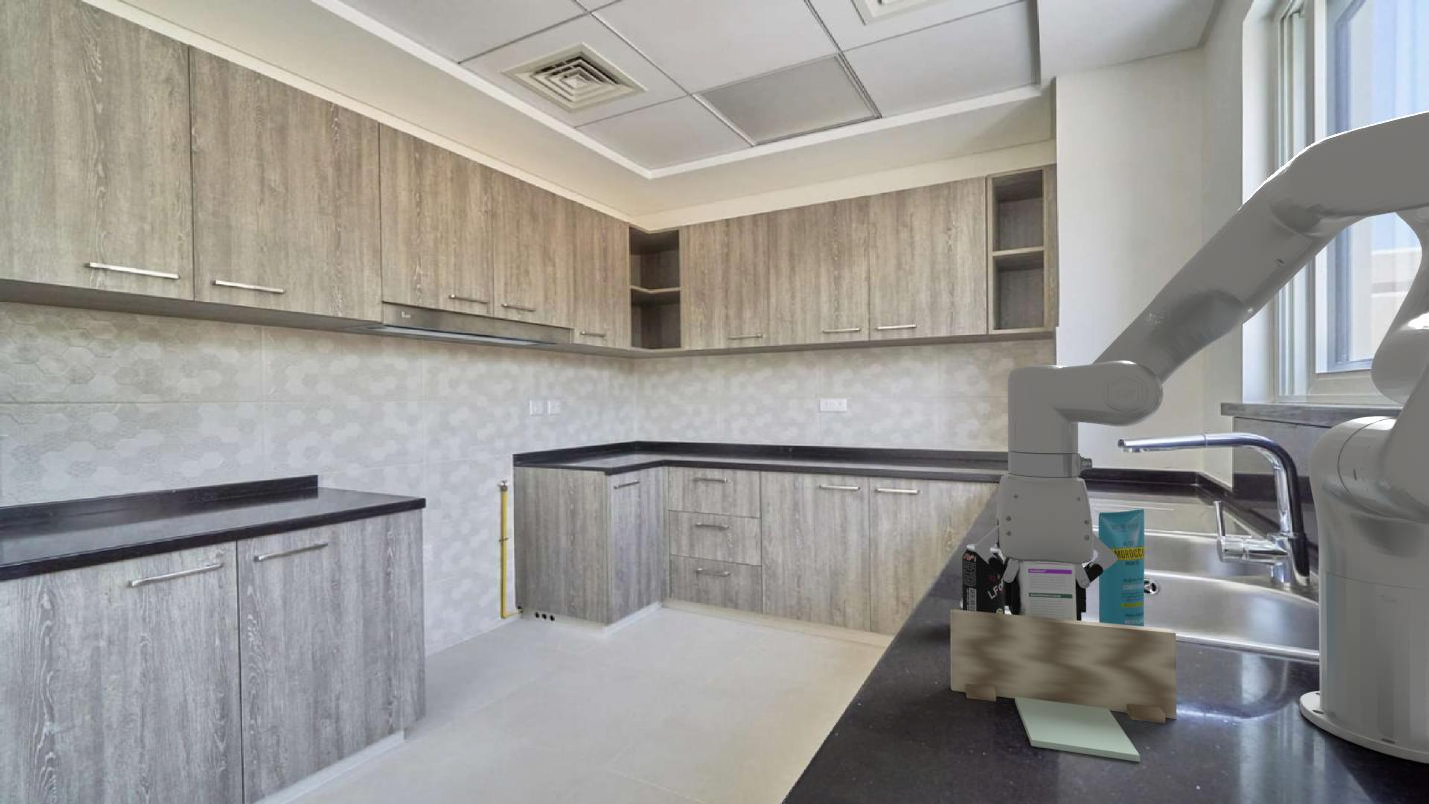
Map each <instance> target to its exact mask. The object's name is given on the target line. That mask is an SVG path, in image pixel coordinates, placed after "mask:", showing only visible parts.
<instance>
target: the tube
mask: <svg viewBox="0 0 1429 804" xmlns="http://www.w3.org/2000/svg"><path fill="white" fill-rule="evenodd" d="M1097 529H1098V539H1100V540H1101V541H1102V542H1103V543H1104V544H1105V545H1106V546H1107V547H1108V548H1109V549H1110V550H1111V551H1112V552H1113V553H1114V554H1116V555H1117V557H1118V560H1117V561H1116V562H1115V563H1114V564H1112V565H1111V566H1110V567H1109V568H1107V569H1105V570H1104V571H1103V573H1102V574H1101V575H1100V576H1099V577H1098V622H1099V623H1110V624H1121V625H1132V626H1143V627H1145V508H1136V509H1129V510H1124V511H1123V510H1122V511H1105V512H1103V511H1100V512H1099V513H1098V528H1097Z"/></svg>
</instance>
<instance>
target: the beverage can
mask: <svg viewBox="0 0 1429 804" xmlns="http://www.w3.org/2000/svg"><path fill="white" fill-rule="evenodd" d="M975 544H976V543H971V544H970V543H969V544H967V545H966V546H965V547H966V550H965V551H964V553H963V554H962V556H961V566H962V567H961V568H962V569H961V571H962V573H961V575H962V576H961V582H962V583H961V584H962V585H961V586H962V587H961V588H962V589H961V591H962V603H961V604H962V605H961V606H962V609H961V610H965V611H976V612H988V613H999V614H1006V606H1004V603H1003V578H1002V577H1001V576H1000V575H999V574H998V573H997V572H996V571H995V570H994V569H993V568H992V567H991V566H990V565H989V564H988V563H987V562H986V561H985V560H984V559H983V558H982V557H981V556H980V555H978V554H977V553H976V551H975V549H974V546H975ZM990 552H991V553H992V554H993V555H994V556H996V557H997V558H998V559H999V560H1000V561H1001V562H1002V563H1003V562H1004V559H1005V557H1004V556H1003V555H1002V553H1001V550H1000V549H999V548H997V546H995V545H994V546H992V547H991V549H990Z"/></svg>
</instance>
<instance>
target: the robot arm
mask: <svg viewBox="0 0 1429 804" xmlns="http://www.w3.org/2000/svg"><path fill="white" fill-rule="evenodd" d="M1392 213H1395V214H1396V215H1397V216H1398V217H1399V218H1400V219H1401V220H1403V222H1405V223H1406V225H1408V226H1409V227H1410V229H1411V230H1412V231H1413V232H1414V234H1415V235H1416V237H1417V239H1418V241H1419V244H1420V248H1421V259H1420V264H1419V266H1418V269H1417V272H1416V274H1415V276H1414V279H1413V281H1412V284H1411V286H1410V288H1409V291H1408V292H1407V294H1406V295H1405V297H1404V300H1403V302H1402V304H1401V305H1400V307H1399V309H1398V311H1396V315H1395V316H1394V318H1393V319H1392V320H1393V321H1392V322H1391V324H1390V326H1389V328H1388V330H1387V331H1386V333H1385V335H1384V336H1383V339H1382V341H1381V342H1380V344H1379V346H1378V347H1377V349H1376V351H1375V353H1374V355H1373V359H1372V361H1371V366H1370V375H1371V379H1372V382H1373V384H1374V386H1375V387H1376V389H1377V391H1379V392H1380V394H1381V395H1383V396H1384V397H1385V398H1388V399H1389V400H1391V401H1393V402H1395V403H1397V404H1400V405H1403V406H1402V409H1401V410H1400V412H1399V414H1398V416H1383V415H1382V416H1380V415H1379V416H1365V417H1359V418H1354V419H1351V420H1347V421H1344V422H1341V423H1339V424H1337V425H1335V426H1333V427H1331V428H1329V429H1328V430H1327V431H1325V433H1323V434H1322V435H1321V436H1320V437H1319V438H1318V439H1317V441H1315V443H1314V445H1313V447H1312V450H1311V453H1310V455H1309V458H1308V459H1309V460H1308V477H1309V478H1308V479H1309V485H1310V489H1311V494H1312V499H1313V503H1314V509H1315V516H1316V521H1317V522H1316V524H1317V526H1316V527H1317V537H1318V538H1317V539H1318V567H1317V569H1318V639H1319V640H1318V642H1319V643H1318V645H1319V648H1318V649H1319V650H1318V651H1319V652H1318V653H1319V655H1318V656H1319V658H1318V659H1319V660H1318V661H1319V662H1318V663H1319V666H1318V667H1319V690H1317V691H1316V690H1315V691H1310V692H1307V693H1303V694H1302V695H1301V696H1300V698H1299V711H1300V712H1301V714H1302V715H1303V716H1304V717H1305V718H1306V719H1308V720H1309V721H1310V722H1311V723H1313V724H1314V725H1315V726H1317V727H1318V728H1320V729H1321V730H1324V731H1326V732H1327V733H1329V734H1331V735H1333V736H1336V737H1338V738H1340V739H1343V740H1345V741H1346V742H1350V743H1353V744H1356V745H1358V746H1361V747H1363V748H1365V749H1369V750H1372V751H1375V752H1379V753H1381V754H1385V755H1388V756H1391V757H1397V758H1400V759H1403V760H1409V761H1413V762H1418V763H1423V764H1428V765H1429V110H1428V111H1421V112H1417V113H1415V114H1410V115H1404V116H1402V117H1397V118H1392V119H1390V120H1385V121H1382V122H1377V123H1373V124H1370V125H1366V126H1362V127H1358V128H1355V129H1354V128H1353V129H1351V130H1347V131H1343V132H1341V133H1336V134H1333V135H1331V136H1328V137H1326V138H1324V139H1321V140H1319V141H1316V142H1314V143H1312V144H1311V145H1309V146H1307V147H1305V149H1302V150H1301V151H1300V152H1299V153H1298V154H1297V155H1296V156H1294V157H1293V158H1292V159H1290V161H1288V162H1286V164H1285V165H1283V166H1282V167H1280V168H1279V169H1278V170H1277V171H1275V172H1274V174H1272V175H1271V176H1270V177H1268V178H1267V180H1265V181H1264V182H1263V183H1262V184H1261V185H1260V186H1258V188H1257V190H1255V192H1254V193H1253V194H1251V195H1250V197H1249V198H1248V199H1246V200H1245V202H1244V203H1242V205H1241V206H1239V208H1238V209H1237V210H1236V211H1235V212H1234V213H1233V214H1232V215H1231V217H1229V218H1228V219H1227V221H1226V222H1225V223H1224V224H1223V225H1222V226H1221V227H1220V228H1219V229H1218V230H1217V231H1216V232H1215V233H1214V234H1213V235H1212V236H1211V237H1210V238H1209V239H1208V240H1207V241H1206V242H1205V243H1204V245H1203V246H1201V247H1200V249H1199V250H1197V252H1195V254H1194V255H1193V256H1192V257H1191V258H1190V259H1189V260H1188V261H1187V262H1186V263H1185V264H1184V265H1183V266H1182V267H1181V268H1180V269H1179V270H1178V271H1177V272H1176V274H1174V276H1173V277H1172V278H1171V279H1170V280H1169V281H1168V282H1166V284H1165V285H1164V286H1163V288H1162V289H1161V290H1160V291H1159V292H1158V293H1157V294H1156V296H1154V298H1153V299H1152V300H1151V302H1150V303H1149V304H1147V306H1146V307H1145V308H1144V309H1143V311H1141V313H1139V315H1138V316H1137V317H1136V318H1135V319H1134V320H1133V321H1132V322H1131V323H1130V324H1129V325H1128V326H1127V327H1126V328H1125V329H1124V330H1123V331H1122V332H1121V333H1120V334H1119V335H1117V337H1116V338H1115V339H1114V340H1113V341H1112V342H1111V344H1109V345H1108V346H1107V348H1106V349H1105V350H1104V351H1103V352H1102V353H1101V354H1100V355H1099V356H1098V357H1097V358H1096V359H1095V360H1094V361H1092V363H1091V364H1084V365H1083V364H1082V365H1072V366H1068V365H1063V364H1036V365H1034V364H1033V365H1024V366H1018V367H1015V368H1013V369H1012V370H1011V371H1010V372H1009V374H1008V377H1007V450H1008V452H1007V462H1008V463H1007V467H1008V469H1007V471H1008V472H1007V473H1008V474H1007V475H1001V476H1000V480H999V486H998V489H997V490H998V492H997V498H996V499H997V500H996V510H995V513H996V515H995V526H994V528H992V529H991V530H990V531H989V532H988V533H987V534H986V535H984V536H983V537H982V538H981V539H980V540H979V541H978V542H977V543H974V544H975V546H974V549H975V551H976V553H977V554H978V555H980V556H981V557H982V558H983V559H984V560H985V561H986V562H987V563H988V564H989V565H990V566H991V567H992V568H993V569H994V570H995V571H996V572H997V573H998V574H999V575H1000V576H1001V577H1002V578H1003V603H1004V606H1005V607H1008V608H1007V609H1008V610H1009V612H1010V615H1019V585H1018V583H1017V581H1016V577H1015V575H1016V573H1017V571H1018V569H1019V567H1020V562H1022V561H1057V562H1066V563H1072V564H1073V565H1075V584H1076V616H1077V621H1083V620H1082V617H1083V616H1082V614H1083V613H1087V589H1088V588H1089V587H1090V586H1091V583H1092V582H1094V581H1095V580H1096V579H1097V578H1099V576H1100V575H1101V574H1102V573H1103V571H1104V570H1105V569H1107V568H1109V567H1110V566H1111V565H1112V564H1114V563H1115V562H1116V561H1117V560H1118V557H1117V555H1116V554H1114V553H1113V552H1112V551H1111V550H1110V549H1109V548H1108V547H1107V546H1106V545H1105V544H1104V543H1103V542H1102V541H1101V540H1100V539H1099V537H1097V535H1095V534H1094V528H1093V519H1092V512H1091V506H1090V499H1089V493H1088V488H1087V485H1086V481H1085V479H1084V478H1081V477H1079V476H1081V473H1082V471H1085V470H1092V469H1093V459H1092V458H1090V457H1088V458H1087V457H1086V458H1085V456H1082V455H1081V453H1079V423H1086V424H1094V425H1095V424H1096V425H1103V426H1109V427H1119V428H1121V427H1123V428H1124V427H1130V426H1135V425H1139V424H1141V423H1143V422H1145V421H1147V420H1148V419H1150V418H1151V417H1153V415H1155V413H1157V411H1158V410H1159V409H1160V406H1161V405H1162V402H1163V398H1164V388H1163V384H1164V383H1165V382H1166V381H1167V380H1168V379H1169V378H1170V377H1171V376H1173V374H1174V373H1175V372H1177V370H1178V369H1180V368H1181V367H1182V366H1183V365H1185V364H1186V363H1187V362H1189V360H1191V358H1193V357H1194V356H1196V355H1197V354H1198V353H1200V352H1201V351H1202V350H1204V349H1206V348H1207V347H1209V346H1210V345H1212V344H1214V343H1215V342H1217V341H1219V340H1220V339H1222V338H1225V337H1226V336H1227V335H1230V334H1231V333H1233V332H1234V331H1236V330H1238V329H1239V328H1240V327H1242V326H1243V325H1244V324H1245V323H1247V322H1248V321H1249V320H1251V319H1252V318H1253V317H1254V316H1256V314H1258V312H1260V311H1261V310H1262V309H1263V308H1264V307H1265V306H1266V305H1267V304H1268V303H1269V302H1270V301H1271V300H1272V299H1273V298H1274V297H1276V295H1277V294H1278V293H1279V291H1281V290H1282V289H1283V288H1284V287H1285V286H1286V285H1287V284H1288V283H1289V282H1290V281H1291V280H1292V279H1293V278H1294V277H1295V276H1296V275H1297V274H1298V273H1299V272H1301V270H1303V269H1304V267H1305V266H1307V264H1308V263H1310V262H1311V261H1312V260H1313V259H1314V258H1315V257H1316V256H1318V254H1319V253H1320V252H1321V251H1322V250H1323V249H1324V248H1326V247H1327V246H1328V245H1329V243H1331V242H1332V240H1333V239H1334V238H1336V237H1337V236H1338V235H1339V234H1340V233H1341V232H1342V231H1344V230H1345V229H1346V228H1348V227H1350V226H1352V225H1354V224H1355V223H1359V222H1360V221H1362V220H1364V219H1366V218H1370V217H1375V216H1380V215H1386V214H1392ZM995 545H996V547H997V548H999V549H1000V554H1001V555H1002V556H1003V557H1004V562H1003V563H1002V562H1001V561H1000V560H999V559H998V558H997V557H996V556H994V555H993V554H992V553H991V552H990V549H991V547H992V546H995ZM1094 551H1095V552H1096V553H1097V557H1096V558H1095V559H1094V560H1093V558H1094V553H1095V552H1094ZM1092 560H1093V561H1092ZM1086 563H1087V564H1086ZM1083 564H1086V565H1085V566H1084V565H1083Z"/></svg>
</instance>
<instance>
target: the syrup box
mask: <svg viewBox="0 0 1429 804" xmlns="http://www.w3.org/2000/svg"><path fill="white" fill-rule="evenodd" d="M1015 577H1016V581H1017V583H1018V585H1019V615H1021V616H1032V617H1043V618H1054V619H1065V620H1077V616H1076V584H1075V565H1073V564H1072V563H1066V562H1057V561H1022V562H1020V567H1019V569H1018V571H1017V573H1016V575H1015Z"/></svg>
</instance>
